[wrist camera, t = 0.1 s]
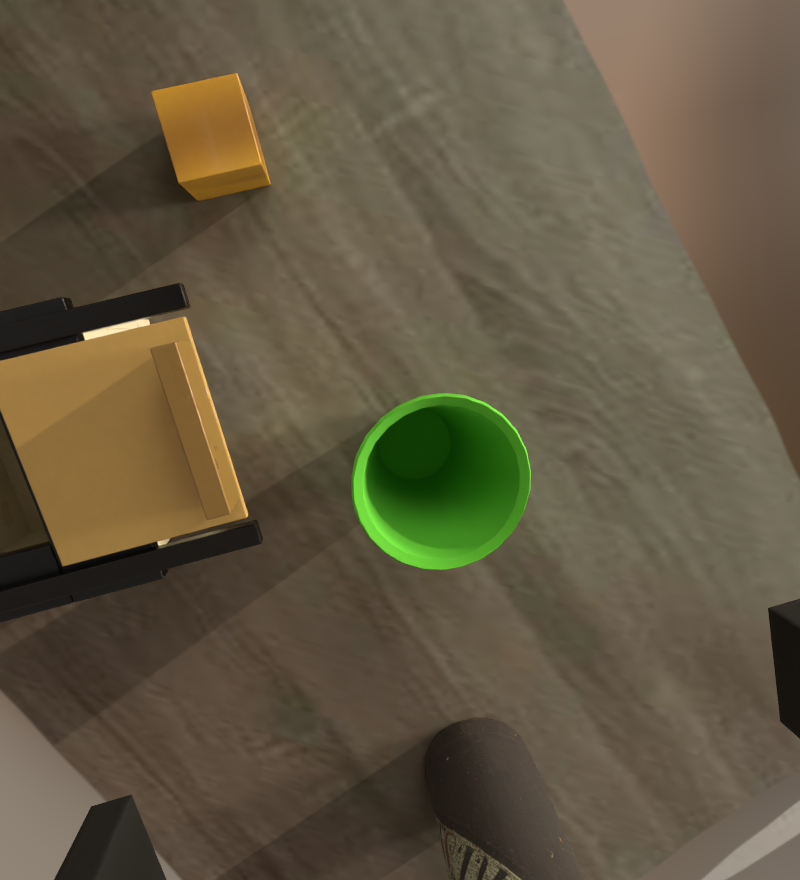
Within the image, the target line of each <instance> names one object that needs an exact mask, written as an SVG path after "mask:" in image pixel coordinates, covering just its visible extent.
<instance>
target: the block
mask: <svg viewBox="0 0 800 880" xmlns="http://www.w3.org/2000/svg"><path fill="white" fill-rule="evenodd" d="M151 95H152V98H153V101H154V104H155V108H156V111H157V114H158V118H159V121H160V124H161V128H162V131H163V134H164V137H165V141H166V144H167V147H168V151H169V154H170V157H171V161H172V164H173V167H174V170H175V174H176V177H177V180H178V183H179V184H180V185H181V186H182V187H183V188H185V189H186V190H187V191H188V192H189V193H190V194H191V195H192V196H193V197H194V198H195V199H196V200H197V201H202V200H207V199H211V198H215V197H220V196H224V195H228V194H233V193H237V192H242V191H246V190H250V189H255V188H259V187H263V186H268V185H270V184H271V183H270V179H269V176H268V172H267V168H266V165H265V161H264V157H263V154H262V150H261V146H260V142H259V139H258V135H257V131H256V128H255V124H254V120H253V117H252V113H251V109H250V106H249V103H248V100H247V98H246V95H245V93H244V90H243V87H242V85H241V82H240V79H239V77H238V74H237V73H235V74H230V75H225V76H221V77H216V78H211V79H207V80H202V81H198V82H193V83H188V84H184V85H179V86H174V87H170V88H165V89H160V90H156V91H152V92H151Z"/></svg>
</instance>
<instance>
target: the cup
mask: <svg viewBox="0 0 800 880" xmlns="http://www.w3.org/2000/svg"><path fill="white" fill-rule="evenodd" d="M530 476H531V469H530V464H529V460H528V455H527V450H526V448H525V446H524V444H523V442H522V440H521V438H520V436H519V434H518V432H517V430H516V429H515V428H514V427H513V426H512V424H511V423H510V422H509V421H508V420H507V419H506V418H505V416H504V415H503V414H501V413H500V412H498V411H497V410H495V409H494V408H492V407H491V406H490V405H488V404H487V403H485V402H482V401H479V400H477V399H474V398H471V397H468V396H466V395H457V394H447V393H440V394H433V395H426V396H420V397H417V398H415V399H413V400H410V401H408V402H405V403H403V404H400V405H398V406H397V407H396V408H394V409H393V410H392V411H390V412H389V413H387V414H386V415H385V416H383V417H382V418H381V419H380V420H379V421H378V422H377V423H376V424H375V426H374V427H373V428H372V429H371V430H370V431H369V433H368V434H367V435H366V436H365V438H364V440H363V442H362V444H361V446H360V448H359V450H358V452H357V454H356V457H355V462H354V466H353V471H352V475H351V493H352V502H353V505H354V509H355V512H356V515H357V519H358V521H359V522H360V524H361V526H362V527H363V529H364V531H365V533H366V534H367V536H368V537H369V538H370V539H371V540H372V541H373V542H374V543H375V544H376V545H377V546H378V547H379V548H380V549H381V550H382V551H383V552H384V553H386V554H387V555H389V556H391V557H392V558H394V559H396V560H397V561H399V562H401V563H404V564H407V565H411V566H414V567H417V568H421V569H436V570H444V569H450V568H456V567H461V566H465V565H467V564H470V563H472V562H475V561H477V560H479V559H482V558H484V557H485V556H486V555H488V554H489V553H491V552H492V551H493V550H495V549H496V548H498V547H499V546H500V545H501V544H502V543H503V542H504V541H505V540H506V539H507V537H508V536H509V535H510V534H511V533H512V532H513V531H514V529H515V527H516V526H517V524H518V522H519V520H520V518H521V516H522V515H523V513H524V511H525V507H526V504H527V500H528V496H529V493H530Z"/></svg>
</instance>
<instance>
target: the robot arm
mask: <svg viewBox="0 0 800 880" xmlns="http://www.w3.org/2000/svg"><path fill="white" fill-rule="evenodd" d="M768 612H769V621H770V630H771V640H772V649H773V658H774V667H775V676H776V686H777V695H778V704H779V713H780V722H782V723H783V724H784V725H785V726H786V727H787V728H788V729H790V730H791V731H792V732H793V733H794V734H795V735H796V736H797V737H799V738H800V599H798V600H794V601H791V602H787V603H784V604H781V605H777V606H774V607H770V608H768ZM54 880H166V878H165V875H164V873H163V871H162V868H161V865H160V863H159V861H158V859H157V856H156V853H155V851H154V848H153V846H152V844H151V841H150V839H149V836H148V834H147V831H146V829H145V826H144V824H143V822H142V819H141V817H140V814H139V812H138V809H137V807H136V805H135V802H134V800H133V797H132V795H129V796H125V797H122V798H119V799H115V800H112V801H108V802H105V803H102V804H98V805H95V806H92V807H91V808H90V810H89V812H88V814H87V816H86V818H85V820H84V822H83V824H82V826H81V828H80V830H79V832H78V834H77V836H76V838H75V840H74V842H73V844H72V846H71V848H70V850H69V852H68V854H67V856H66V858H65V860H64V862H63V864H62V866H61V867H60V869H59V871H58V873H57V875H56V877H55V879H54Z"/></svg>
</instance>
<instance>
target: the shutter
mask: <svg viewBox="0 0 800 880" xmlns="http://www.w3.org/2000/svg"><path fill="white" fill-rule="evenodd" d="M0 411H1V413H2V416H3V418H4V421H5V423H6V426H7V428H8V431H9V433H10V436H11V438H12V441H13V443H14V446H15V448H16V451H17V453H18V456H19V458H20V461H21V463H22V466H23V468H24V471H25V473H26V476H27V478H28V481H29V483H30V486H31V488H32V491H33V493H34V496H35V498H36V501H37V503H38V506H39V508H40V511H41V513H42V516H43V518H44V521H45V523H46V526H47V528H48V531H49V533H50V536H51V538H52V541H53V543H54V546H55V548H56V551H57V553H58V556H59V558H60V561H61V563H62V566H67V565H71V564H74V563H78V562H82V561H86V560H89V559H93V558H97V557H101V556H105V555H108V554H112V553H116V552H120V551H123V550H127V549H131V548H135V547H138V546H142V545H146V544H150V543H153V542H157V541H161V540H165V539H169V538H172V537H176V536H180V535H184V534H187V533H191V532H195V531H199V530H202V529H206V528H210V527H214V526H218V525H221V524H225V523H229V522H233V521H236V520H240V519H244V518H247V517H248V512H247V509H246V506H245V502H244V499H243V496H242V493H241V490H240V487H239V483H238V480H237V477H236V474H235V471H234V468H233V464H232V461H231V458H230V455H229V452H228V449H227V445H226V442H225V439H224V436H223V433H222V430H221V427H220V423H219V420H218V417H217V414H216V411H215V408H214V404H213V401H212V398H211V395H210V392H209V389H208V385H207V382H206V379H205V376H204V373H203V370H202V366H201V363H200V360H199V357H198V354H197V351H196V347H195V344H194V341H193V338H192V335H191V332H190V328H189V325H188V322H187V319H186V317H180V318H176V319H172V320H167V321H163V322H159V323H155V324H151V325H147V326H143V327H138V328H134V329H130V330H126V331H122V332H118V333H114V334H109V335H105V336H101V337H97V338H93V339H89V340H85V341H80V342H76V343H72V344H68V345H64V346H60V347H56V348H51V349H47V350H43V351H39V352H35V353H31V354H26V355H22V356H18V357H14V358H10V359H6V360H2V361H0Z"/></svg>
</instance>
